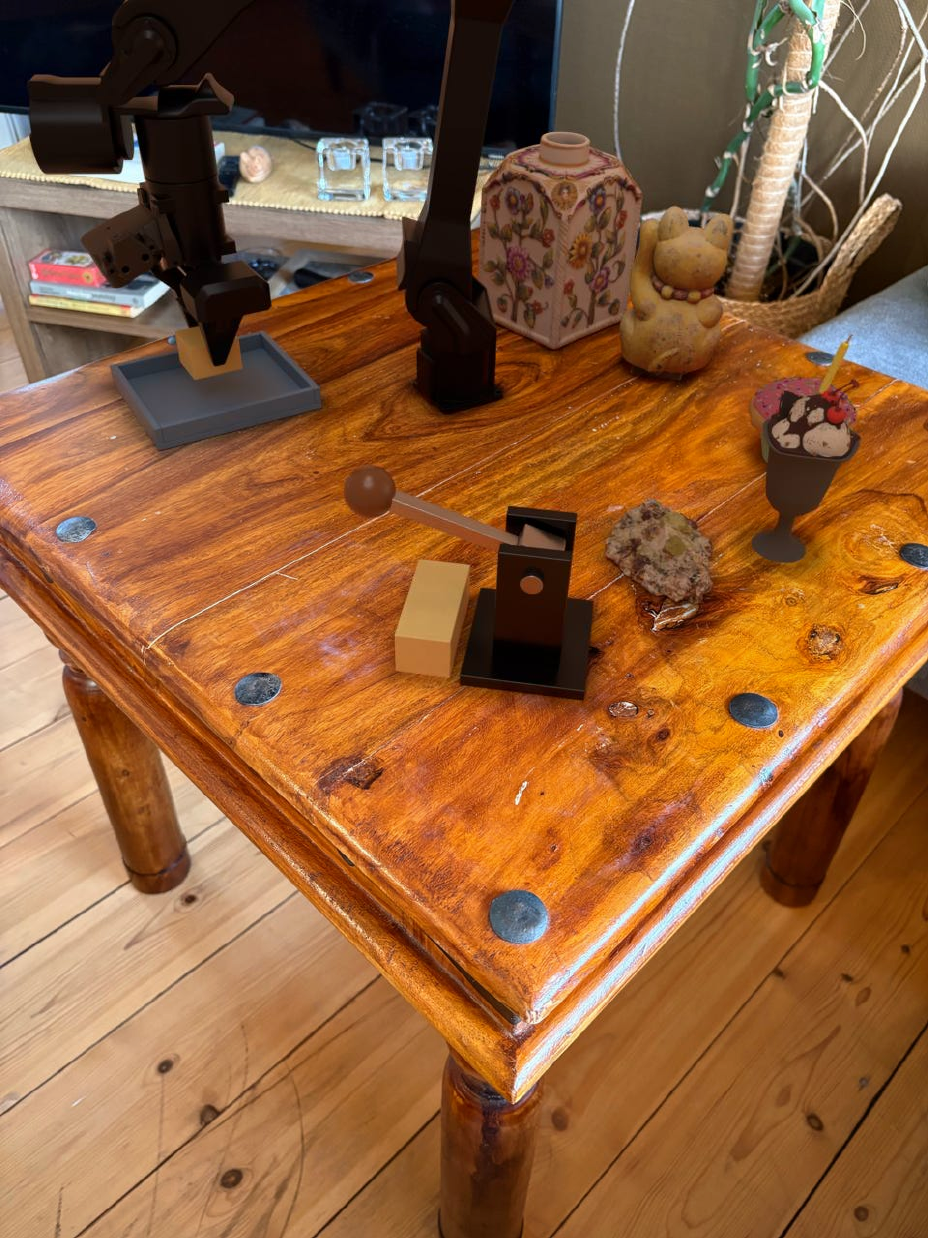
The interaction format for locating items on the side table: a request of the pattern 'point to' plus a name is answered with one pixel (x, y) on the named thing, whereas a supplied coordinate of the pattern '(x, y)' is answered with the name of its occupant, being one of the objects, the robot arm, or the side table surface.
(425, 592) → the tan rectangular block
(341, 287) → the side table surface
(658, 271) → the decorative figurine
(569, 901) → the side table surface
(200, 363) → the butter pat
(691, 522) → the mineral rock
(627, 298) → the decorative jar
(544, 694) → the slicer
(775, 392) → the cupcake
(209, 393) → the dish
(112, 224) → the robot arm
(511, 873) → the side table surface
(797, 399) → the sundae
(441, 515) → the lever
